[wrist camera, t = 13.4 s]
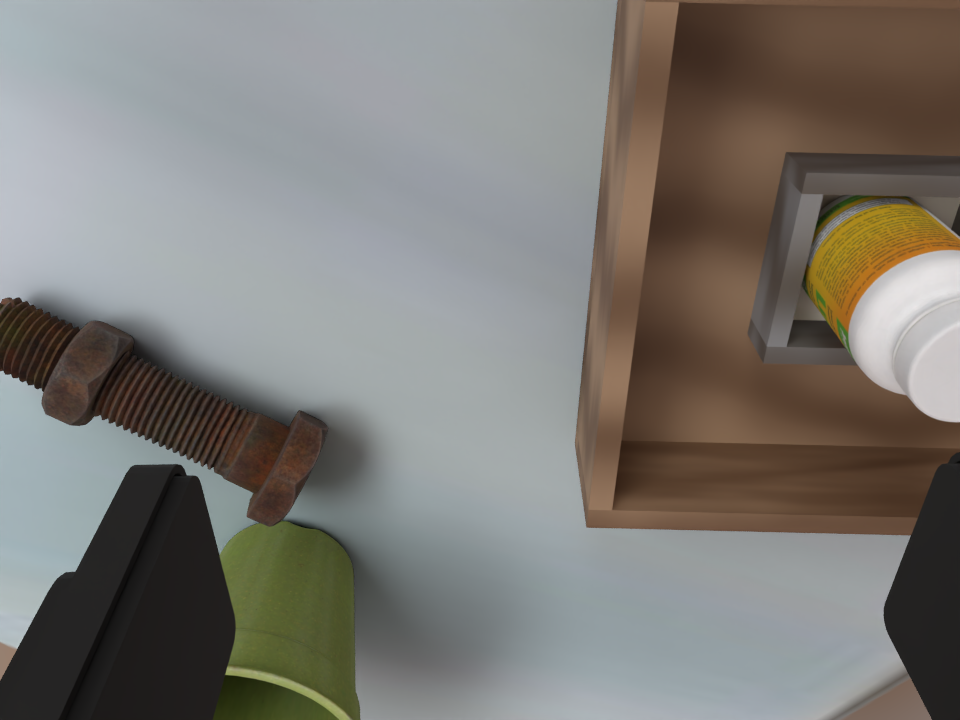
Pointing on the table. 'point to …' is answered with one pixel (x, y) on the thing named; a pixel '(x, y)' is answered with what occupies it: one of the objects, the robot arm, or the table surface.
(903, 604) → the robot arm
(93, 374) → the bolt
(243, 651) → the plant pot
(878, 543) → the table surface
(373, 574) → the table surface
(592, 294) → the walled box
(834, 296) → the supplement bottle
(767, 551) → the table surface
